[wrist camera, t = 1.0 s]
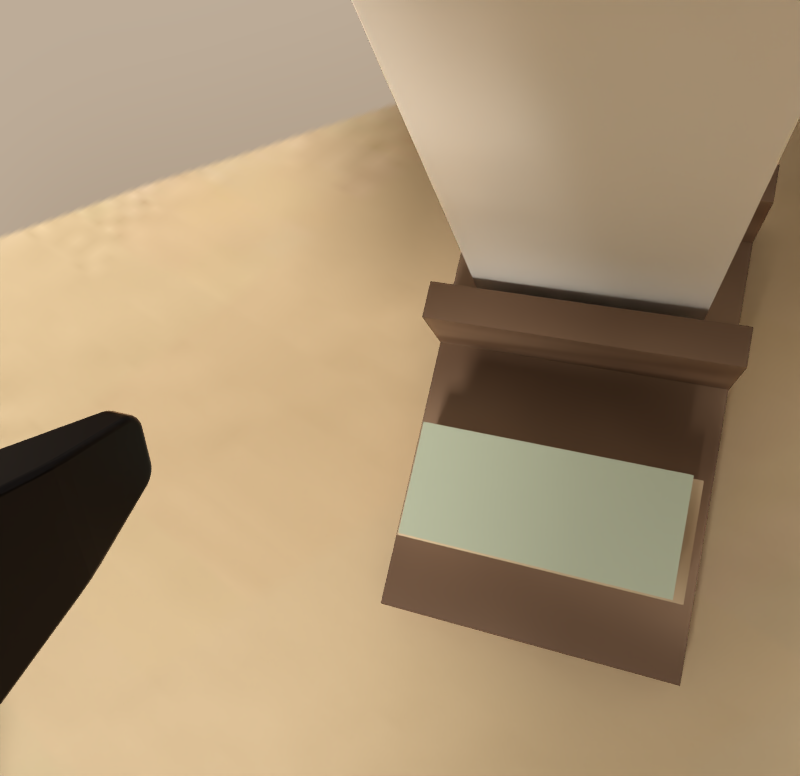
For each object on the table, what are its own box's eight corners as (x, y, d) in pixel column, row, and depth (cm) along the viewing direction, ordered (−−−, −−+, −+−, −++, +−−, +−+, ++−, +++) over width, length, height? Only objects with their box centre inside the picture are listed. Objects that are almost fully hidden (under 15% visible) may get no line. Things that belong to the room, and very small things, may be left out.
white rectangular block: (697, 333, 20) (855, -3, 8) (483, 302, 22) (344, -16, 10) (711, 251, 21) (883, -190, 8) (500, 227, 22) (386, -171, 10)
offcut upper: (666, 596, 18) (672, 600, 16) (412, 534, 20) (398, 532, 18) (685, 481, 18) (693, 474, 17) (435, 430, 20) (423, 421, 19)
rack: (675, 679, 20) (692, 705, 16) (390, 601, 22) (353, 609, 19) (751, 221, 22) (779, 160, 18) (482, 193, 24) (464, 135, 21)
